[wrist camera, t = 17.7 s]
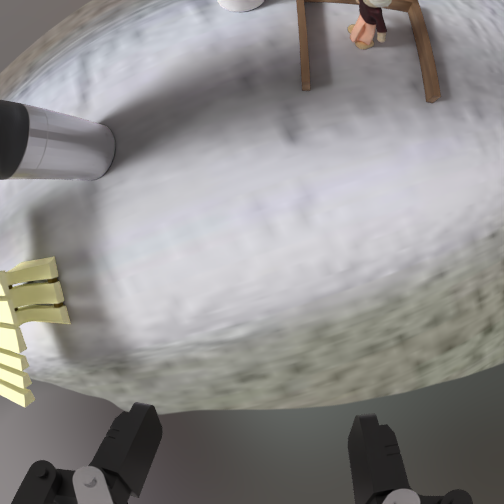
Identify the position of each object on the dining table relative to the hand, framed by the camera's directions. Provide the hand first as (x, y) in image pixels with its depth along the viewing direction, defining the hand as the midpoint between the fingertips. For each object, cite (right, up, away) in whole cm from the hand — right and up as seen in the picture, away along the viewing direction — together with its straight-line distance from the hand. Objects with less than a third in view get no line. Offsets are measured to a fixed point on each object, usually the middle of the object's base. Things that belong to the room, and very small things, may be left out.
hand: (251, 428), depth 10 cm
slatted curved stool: (-43, -1, +38) cm, 57 cm away
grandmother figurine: (+15, +36, +20) cm, 44 cm away
